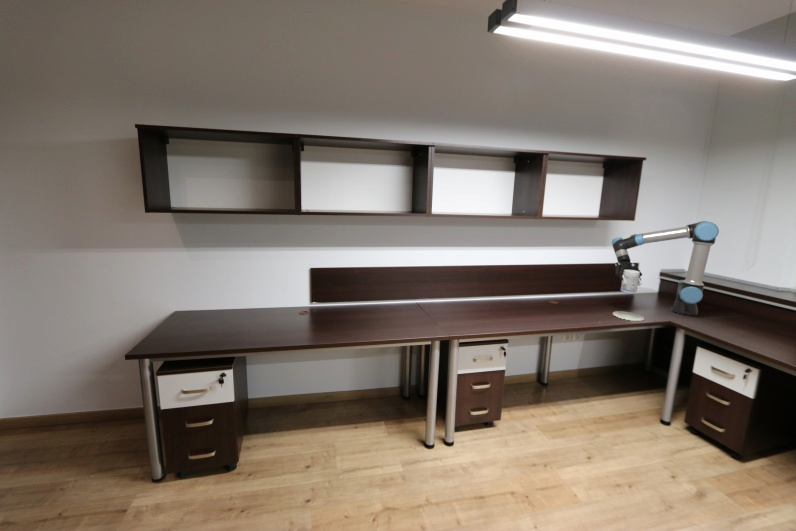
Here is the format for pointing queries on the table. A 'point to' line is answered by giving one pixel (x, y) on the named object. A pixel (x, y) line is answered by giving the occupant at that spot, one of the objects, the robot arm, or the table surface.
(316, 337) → the table surface
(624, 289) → the supplement tub
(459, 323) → the table surface
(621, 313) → the ceramic plate
